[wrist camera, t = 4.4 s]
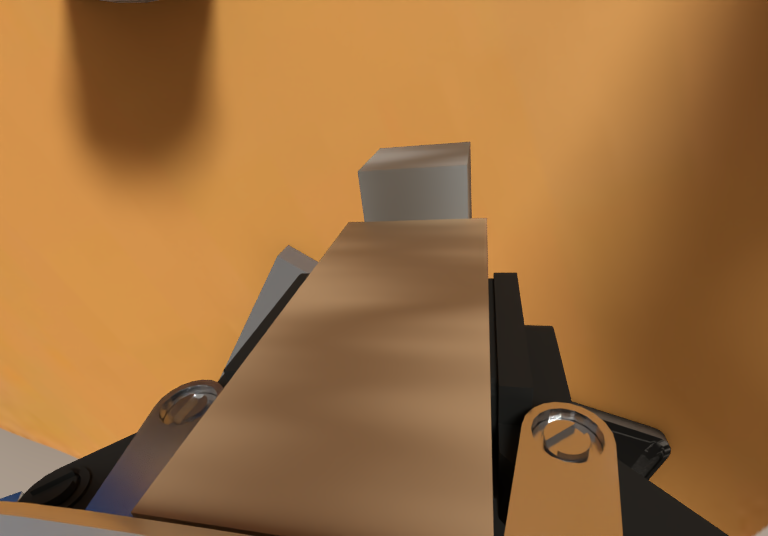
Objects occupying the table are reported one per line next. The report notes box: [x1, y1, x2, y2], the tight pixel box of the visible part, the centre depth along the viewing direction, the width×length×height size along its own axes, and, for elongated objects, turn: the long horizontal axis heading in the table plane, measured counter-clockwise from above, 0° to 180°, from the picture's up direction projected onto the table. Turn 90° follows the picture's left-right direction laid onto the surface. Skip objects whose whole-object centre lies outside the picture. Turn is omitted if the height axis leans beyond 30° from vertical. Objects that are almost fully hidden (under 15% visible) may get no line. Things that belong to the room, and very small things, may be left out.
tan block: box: [131, 142, 494, 536], centre depth 10 cm, size 4×7×12 cm, turn 6°
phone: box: [493, 402, 671, 536], centre depth 28 cm, size 8×1×15 cm
